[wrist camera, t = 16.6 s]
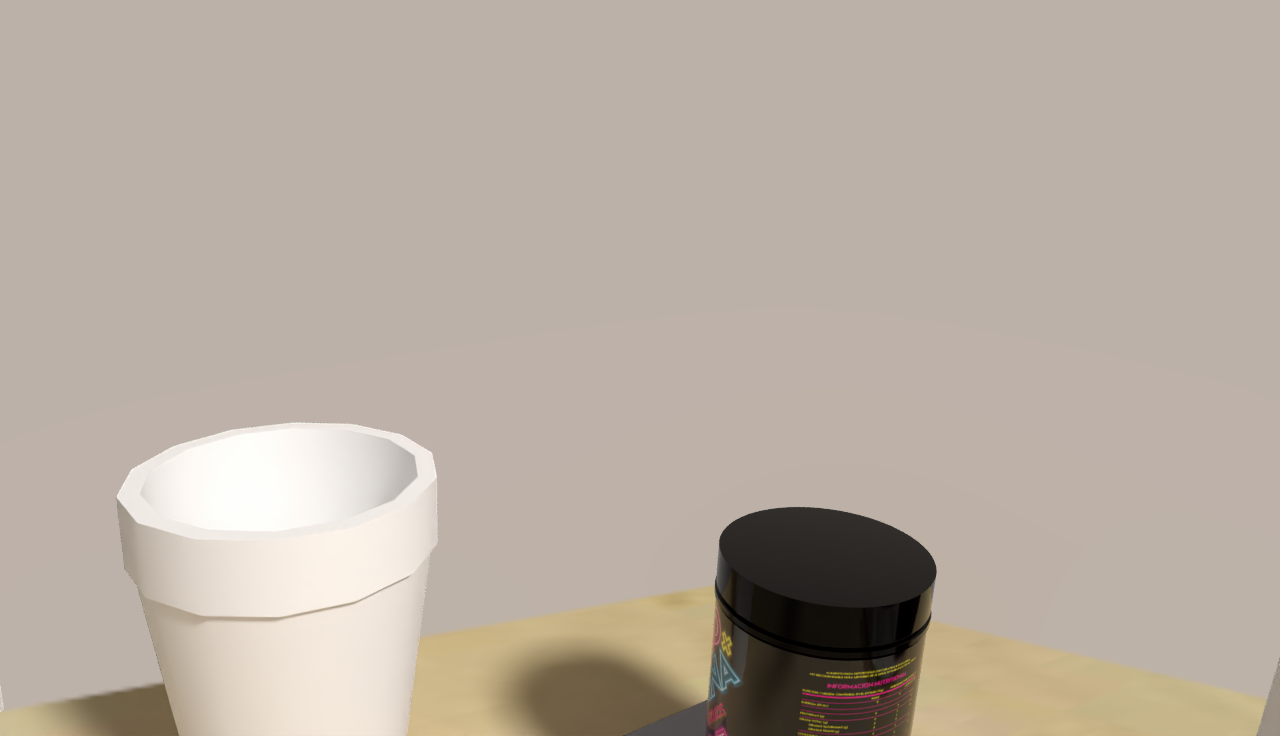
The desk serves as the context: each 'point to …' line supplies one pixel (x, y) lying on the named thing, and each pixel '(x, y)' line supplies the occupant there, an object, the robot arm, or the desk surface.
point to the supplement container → (817, 626)
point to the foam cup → (284, 576)
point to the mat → (678, 723)
